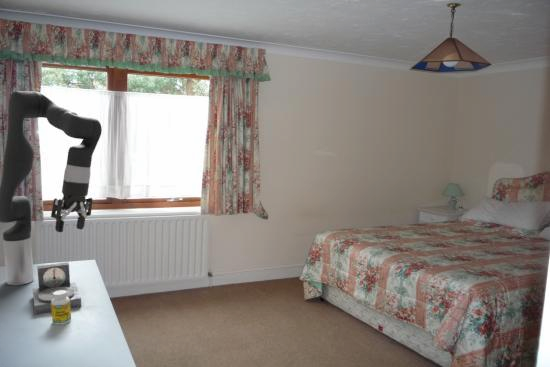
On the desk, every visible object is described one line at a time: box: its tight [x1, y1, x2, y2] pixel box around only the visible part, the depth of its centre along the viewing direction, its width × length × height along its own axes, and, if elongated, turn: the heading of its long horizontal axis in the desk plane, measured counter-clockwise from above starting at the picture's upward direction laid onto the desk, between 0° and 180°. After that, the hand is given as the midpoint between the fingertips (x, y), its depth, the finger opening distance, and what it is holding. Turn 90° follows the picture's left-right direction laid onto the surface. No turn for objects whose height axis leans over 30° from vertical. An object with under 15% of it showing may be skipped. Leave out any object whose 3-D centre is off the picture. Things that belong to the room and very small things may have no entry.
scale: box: [32, 261, 82, 315], centre depth 163 cm, size 17×14×11 cm
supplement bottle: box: [51, 290, 72, 326], centre depth 147 cm, size 5×5×10 cm
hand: (69, 230), depth 150 cm, fingers open, 8 cm apart
